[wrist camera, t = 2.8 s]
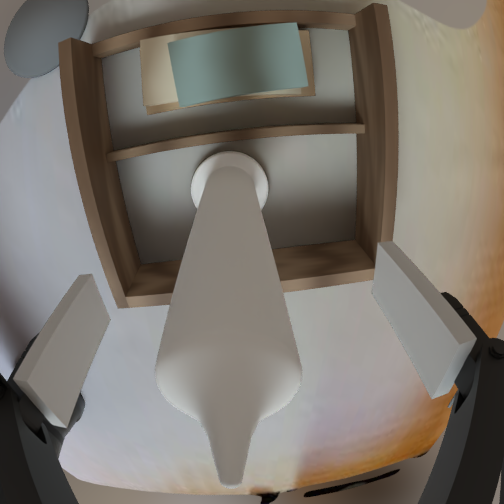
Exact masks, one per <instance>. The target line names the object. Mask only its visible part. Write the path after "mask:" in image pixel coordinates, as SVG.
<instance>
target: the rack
mask: <svg viewBox="0 0 504 504" xmlns="http://www.w3.org/2000/svg"><path fill="white" fill-rule="evenodd" d="M295 22H297V26H298V28H323V29H339V30H348V33H349V40H350V49H351V58H352V68H353V80H354V93H355V110H356V123H317V124H294V125H279V126H266V127H254V128H244V129H235V130H227V131H219V132H211V133H204V134H197V135H191V136H185V137H179V138H173V139H167V140H162V141H157V142H152V143H147V144H142V145H137V146H132V147H128V148H124V149H119V150H115V151H114V149H113V143H112V138H111V132H110V126H109V119H108V112H107V105H106V98H105V90H104V81H103V71H102V60H101V58H104V57H107V56H111V55H114V54H117V53H120V52H124V51H127V50H131V49H135V48H138V47H140V40H144V39H149V38H154V37H159V36H165V35H171V34H178V33H185V32H193V31H202V30H212V29H225V28H243V27H250V26H259V25H268V24H279V23H295ZM58 50H59V67H60V79H61V89H62V98H63V106H64V113H65V120H66V126H67V132H68V138H69V144H70V149H71V154H72V159H73V164H74V169H75V173H76V177H77V182H78V186H79V190H80V194H81V198H82V202H83V206H84V209H85V213H86V216H87V220H88V223H89V227H90V230H91V234H92V237H93V240H94V243H95V246H96V249H97V252H98V255H99V258H100V261H101V264H102V267H103V270H104V273H105V276H106V278H107V281H108V284H109V286H110V289H111V292H112V294H113V297H114V299H115V302H116V304H117V307H118V308H132V307H146V306H159V305H170V303H171V299H172V295H173V291H174V288H175V284H176V280H177V277H178V273H179V269H180V266H181V262H182V260H174V261H165V262H157V263H148V264H141V262H140V259H139V255H138V252H137V248H136V245H135V241H134V237H133V234H132V230H131V226H130V222H129V218H128V214H127V210H126V206H125V202H124V197H123V193H122V189H121V184H120V179H119V175H118V170H117V165H116V161H118V160H122V159H127V158H132V157H136V156H141V155H146V154H151V153H156V152H162V151H167V150H173V149H179V148H185V147H192V146H198V145H205V144H212V143H220V142H228V141H236V140H245V139H255V138H266V137H279V136H293V135H311V134H344V133H356V134H357V206H356V231H355V240H348V241H339V242H330V243H322V244H313V245H304V246H296V247H287V248H278V249H272V252H273V256H274V260H275V264H276V268H277V271H278V275H279V279H280V283H281V287H282V291H283V293H284V292H292V291H299V290H307V289H314V288H321V287H328V286H335V285H342V284H349V283H355V282H362V281H368V280H374V272H375V264H376V255H377V246H378V243H379V242H388V241H392V240H393V231H394V221H395V210H396V196H397V178H398V100H397V83H396V70H395V59H394V50H393V41H392V34H391V27H390V20H389V14H388V8H387V5H383V4H378V3H372V4H371V5H369V6H367V7H366V8H364V9H362V10H361V11H359V12H358V13H356V14H347V13H336V12H323V11H302V10H270V11H249V12H236V13H226V14H217V15H209V16H202V17H196V18H189V19H184V20H178V21H173V22H168V23H164V24H159V25H155V26H151V27H147V28H143V29H139V30H135V31H132V32H128V33H125V34H121V35H118V36H115V37H112V38H109V39H106V40H103V41H100V42H97V43H94V44H89V43H86V42H84V41H81V40H78V39H75V38H71V37H70V38H68V39H66V40H63V41H61V42H59V43H58Z"/></svg>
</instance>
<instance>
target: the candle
mask: <svg viewBox="0 0 504 504" xmlns="http://www.w3.org/2000/svg"><path fill="white" fill-rule="evenodd" d="M268 190H269V187H268V180H267V177H266V174H265V172H264V170H263V169H262V167H261V166H260V164H259V163H258V162H257V161H256V160H254V159H253V158H252V157H250V156H248V155H246V154H244V153H240V152H236V151H224V152H219V153H216V154H214V155H212V156H210V157H208V158H207V159H205V160H204V161H203V162H202V163H201V164H200V165H199V167H198V168H197V170H196V171H195V173H194V176H193V178H192V182H191V195H192V199H193V202H194V205H195V207H196V208H197V212H196V215H195V218H194V222H193V225H192V228H191V232H190V235H189V238H188V242H187V245H186V248H185V252H184V255H183V259H182V262H181V266H180V269H179V273H178V277H177V280H176V284H175V288H174V291H173V295H172V299H171V303H170V307H169V311H168V315H167V319H166V323H165V327H164V331H163V335H162V339H161V343H160V348H159V352H158V356H157V361H156V365H155V379H156V383H157V386H158V388H159V390H160V392H161V393H162V395H163V396H164V397H165V399H166V400H167V401H168V402H169V403H170V404H171V405H172V406H174V407H175V408H176V409H178V410H179V411H181V412H183V413H184V414H186V415H188V416H190V417H192V418H193V419H195V420H196V421H198V422H199V423H200V424H201V426H202V428H203V429H204V431H205V433H206V435H207V437H208V439H209V443H210V447H211V451H212V455H213V459H214V462H215V466H216V470H217V473H218V477H219V480H220V483H221V485H223V486H224V487H226V488H236V487H238V486H240V485H241V483H242V479H243V475H244V470H245V465H246V460H247V456H248V451H249V446H250V441H251V437H252V435H253V433H254V431H255V429H256V427H257V425H258V423H259V422H261V421H262V420H264V419H265V418H267V417H268V416H270V415H272V414H274V413H276V412H277V411H279V410H281V409H282V408H283V407H285V406H286V405H287V404H288V403H289V402H290V401H291V400H292V399H293V398H294V396H295V395H296V393H297V391H298V390H299V388H300V385H301V381H302V366H301V362H300V358H299V354H298V350H297V346H296V342H295V338H294V334H293V330H292V326H291V322H290V318H289V314H288V310H287V306H286V302H285V298H284V294H283V291H282V287H281V283H280V279H279V275H278V271H277V268H276V264H275V260H274V256H273V252H272V249H271V245H270V241H269V238H268V234H267V230H266V226H265V223H264V219H263V215H262V212H261V210H262V208H263V207H264V205H265V203H266V200H267V197H268Z"/></svg>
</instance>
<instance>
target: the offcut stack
mask: <svg viewBox="0 0 504 504" xmlns="http://www.w3.org/2000/svg"><path fill="white" fill-rule="evenodd" d="M140 59H141V77H142V92H143V106H146V110H147V115H150V114H156V113H161V112H166V111H171V110H177V109H183V108H188V107H195V106H201V105H208V104H215V103H223V102H231V101H241V100H251V99H263V98H278V97H300V96H315V85H314V74H313V64H312V54H311V46H310V37H309V31H308V30H298V26H297V22H295V23H279V24H268V25H259V26H250V27H243V28H225V29H212V30H202V31H193V32H185V33H178V34H171V35H165V36H159V37H154V38H149V39H144V40H140Z"/></svg>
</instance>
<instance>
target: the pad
mask: <svg viewBox="0 0 504 504" xmlns="http://www.w3.org/2000/svg"><path fill="white" fill-rule="evenodd" d="M88 13H89V7H88V1H87V0H27V1H26V2H25V3H24V4H23V5H22V6H21V7H20V9H19V10H18V11H17V13H16V14H15V16H14V18H13V19H12V21H11V24H10V26H9V28H8V31H7V34H6V38H5V44H4V55H5V60H6V63H7V65H8V67H9V69H10V70H11V71H12V72H13V73H14V74H15V75H17V76H20V77H24V78H34V77H39V76H42V75H45V74H47V73H49V72H50V71H52V70H53V69H55V68H56V67H58V66H59V50H58V43H59V42H61V41H63V40H66V39H68V38H70V37H71V38H75V39H78V40H80V38H81V36H82V34H83V32H84V30H85V27H86V24H87V20H88Z"/></svg>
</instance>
